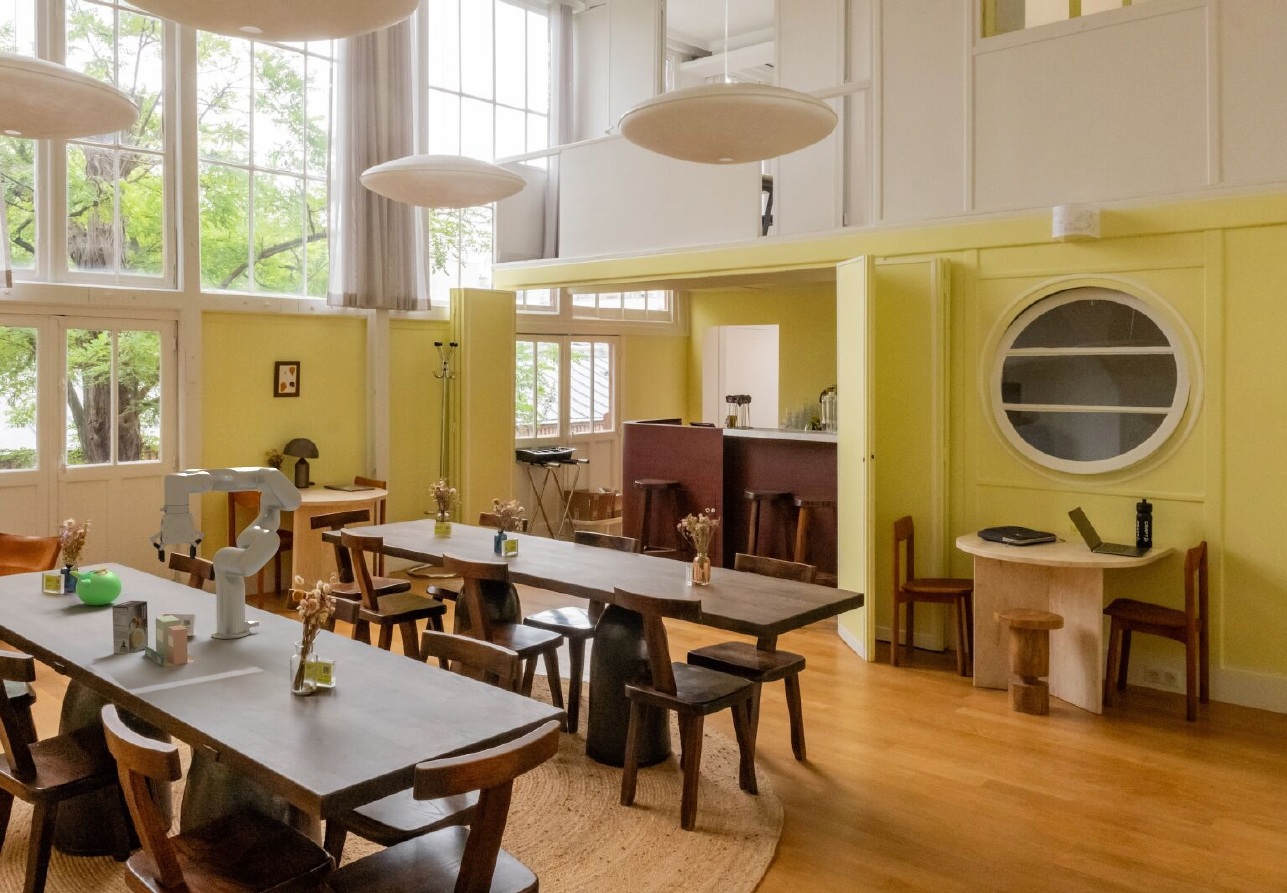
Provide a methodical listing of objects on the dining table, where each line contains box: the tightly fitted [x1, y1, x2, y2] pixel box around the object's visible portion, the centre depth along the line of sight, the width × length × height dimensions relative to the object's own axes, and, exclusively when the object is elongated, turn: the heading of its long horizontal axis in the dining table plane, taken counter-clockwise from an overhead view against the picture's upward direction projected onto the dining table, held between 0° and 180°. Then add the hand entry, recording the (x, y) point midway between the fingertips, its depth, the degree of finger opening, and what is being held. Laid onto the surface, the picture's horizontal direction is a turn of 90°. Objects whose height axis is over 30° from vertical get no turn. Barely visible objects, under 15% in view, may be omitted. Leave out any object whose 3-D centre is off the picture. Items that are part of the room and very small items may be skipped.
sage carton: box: [155, 615, 181, 659], centre depth 321 cm, size 8×5×12 cm, turn 43°
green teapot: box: [69, 567, 122, 606], centre depth 395 cm, size 18×17×15 cm
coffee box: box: [112, 600, 149, 655], centre depth 330 cm, size 9×6×16 cm
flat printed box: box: [144, 645, 200, 668], centre depth 318 cm, size 11×18×4 cm, turn 42°
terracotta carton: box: [168, 624, 189, 666], centre depth 313 cm, size 4×6×11 cm
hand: (177, 560), depth 333 cm, fingers open, 9 cm apart
